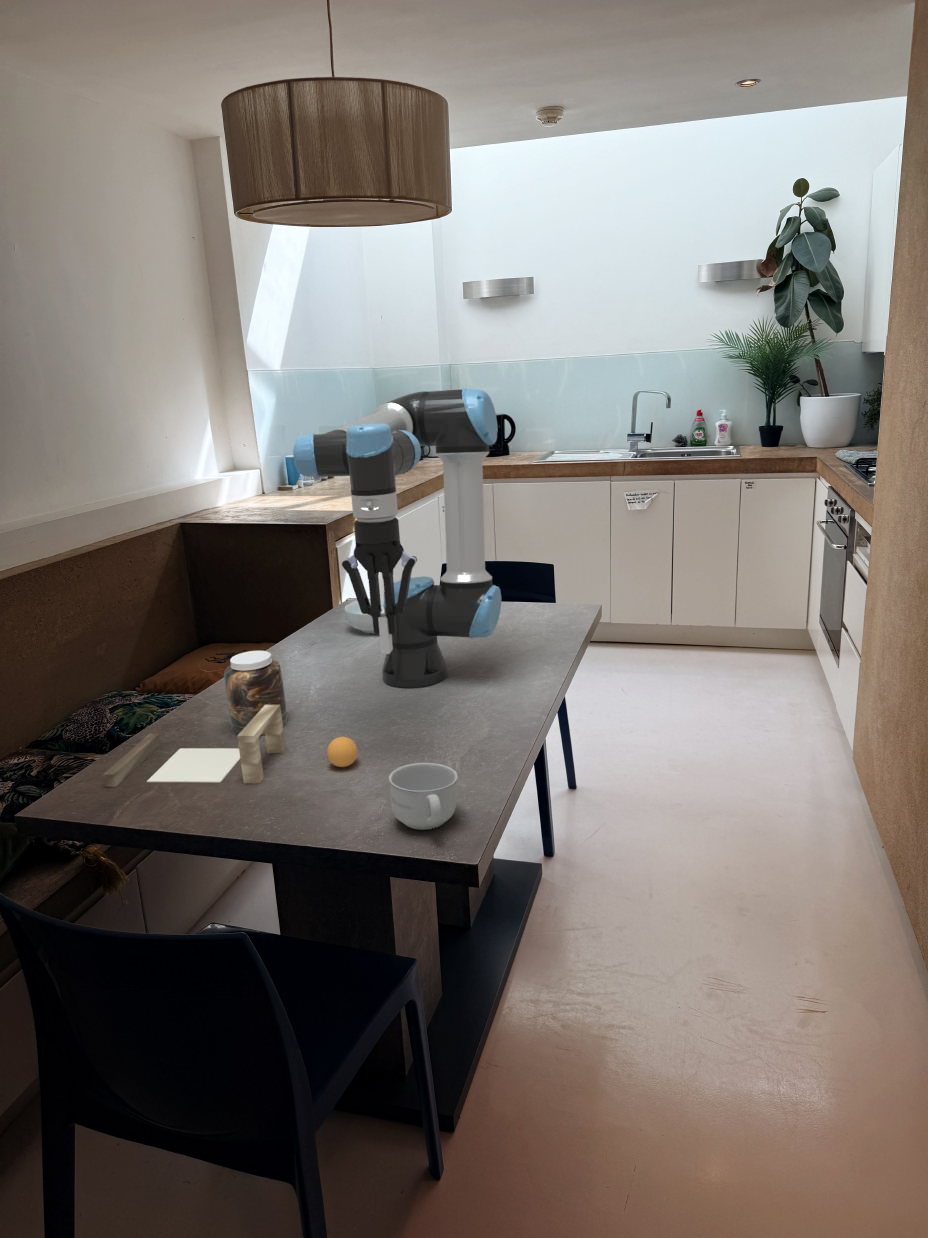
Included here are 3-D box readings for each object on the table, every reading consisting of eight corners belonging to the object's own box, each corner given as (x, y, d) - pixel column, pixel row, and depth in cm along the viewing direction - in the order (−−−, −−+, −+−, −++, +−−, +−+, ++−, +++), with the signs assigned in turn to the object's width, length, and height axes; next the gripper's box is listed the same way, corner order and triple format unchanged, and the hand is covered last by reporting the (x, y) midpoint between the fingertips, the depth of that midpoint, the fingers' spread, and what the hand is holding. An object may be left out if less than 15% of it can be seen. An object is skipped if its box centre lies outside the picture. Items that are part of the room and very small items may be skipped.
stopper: (160, 745, 174) (158, 733, 173) (115, 787, 157) (113, 774, 156) (151, 745, 174) (149, 733, 174) (105, 787, 157) (102, 774, 157)
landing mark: (248, 749, 170) (248, 748, 170) (220, 782, 156) (220, 781, 156) (180, 749, 172) (180, 748, 172) (146, 782, 158) (146, 781, 158)
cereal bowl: (403, 637, 235) (401, 612, 233) (342, 640, 236) (339, 615, 234) (408, 619, 252) (406, 596, 250) (351, 622, 252) (348, 599, 250)
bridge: (285, 748, 169) (280, 704, 166) (259, 783, 155) (253, 735, 153) (270, 748, 169) (265, 704, 167) (243, 783, 156) (237, 736, 153)
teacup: (392, 807, 144) (388, 763, 142) (457, 801, 145) (454, 757, 143) (392, 851, 131) (388, 803, 129) (464, 844, 131) (461, 797, 129)
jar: (226, 721, 185) (217, 654, 180) (281, 710, 189) (273, 644, 185) (235, 741, 174) (225, 670, 170) (293, 729, 178) (285, 660, 174)
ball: (361, 759, 163) (359, 732, 161) (354, 772, 157) (351, 744, 156) (333, 759, 163) (330, 732, 162) (325, 772, 158) (322, 744, 156)
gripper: (332, 523, 144) (345, 658, 150) (409, 520, 142) (419, 657, 148) (343, 515, 151) (356, 645, 157) (417, 513, 149) (427, 644, 155)
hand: (387, 651), depth 153 cm, fingers closed
